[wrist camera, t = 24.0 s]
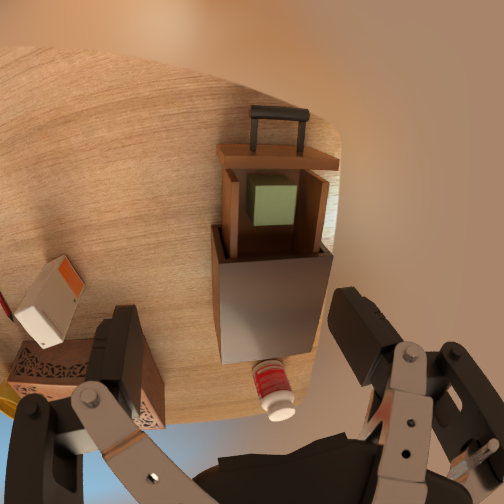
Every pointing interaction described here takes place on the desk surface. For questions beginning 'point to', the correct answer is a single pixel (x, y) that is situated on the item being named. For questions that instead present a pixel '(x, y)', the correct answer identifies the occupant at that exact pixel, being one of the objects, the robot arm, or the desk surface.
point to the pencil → (5, 307)
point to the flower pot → (8, 399)
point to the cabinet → (267, 302)
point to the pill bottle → (274, 390)
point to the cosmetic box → (51, 302)
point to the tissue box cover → (80, 376)
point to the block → (270, 199)
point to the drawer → (273, 163)
